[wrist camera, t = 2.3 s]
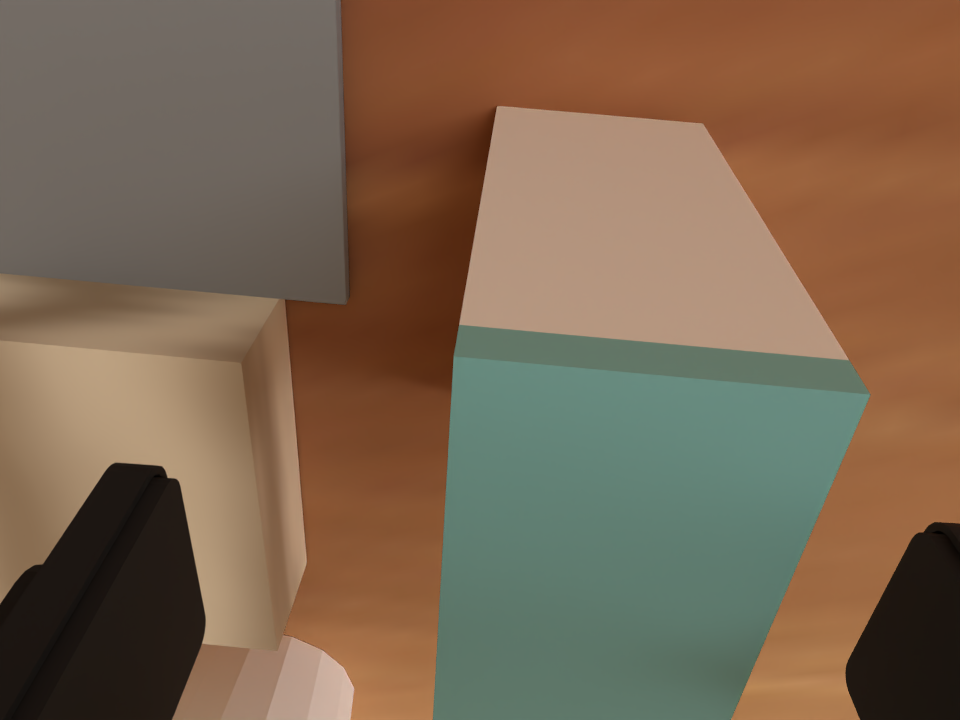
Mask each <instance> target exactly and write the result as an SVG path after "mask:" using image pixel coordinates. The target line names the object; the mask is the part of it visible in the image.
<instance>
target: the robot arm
mask: <svg viewBox="0 0 960 720" xmlns="http://www.w3.org/2000/svg"><path fill="white" fill-rule="evenodd" d="M205 627H206V616H205V610H204V605H203V600H202V595H201V590H200V584H199V579H198V574H197V569H196V564H195V559H194V553H193V548H192V543H191V538H190V533H189V528H188V522H187V517H186V512H185V507H184V502H183V497H182V491H181V486H180V483H179V481H178V480H177V479H175V478H168V477H167V474H166V471H165V469H164V468H163V467H162V466H157V465H144V464H130V463H116V462H115V463H113V464H111V465H110V466H109V467H108V468H107V469H106V471H105V472H104V474H103V475H102V477H101V478H100V480H99V481H98V483H97V484H96V486H95V487H94V489H93V490H92V491H91V493H90V494H89V496H88V497H87V499H86V500H85V502H84V503H83V505H82V506H81V508H80V509H79V511H78V512H77V514H76V515H75V517H74V518H73V520H72V521H71V523H70V524H69V526H68V527H67V529H66V530H65V532H64V533H63V535H62V536H61V538H60V539H59V541H58V542H57V544H56V545H55V547H54V548H53V550H52V551H51V553H50V554H49V556H48V557H47V559H46V560H45V562H44V563H43V564H39V565H34V566H32V567H31V568H29V569H27V570H26V571H24V573H23V574H22V575H21V576H20V577H19V578H18V580H17V581H16V582H15V583H14V585H13V586H12V588H11V589H10V590H9V592H8V593H7V595H6V596H5V598H4V599H3V601H2V602H1V603H0V720H172V719H173V716H174V714H175V711H176V709H177V706H178V704H179V701H180V699H181V696H182V693H183V691H184V688H185V686H186V683H187V681H188V678H189V676H190V673H191V671H192V668H193V666H194V663H195V661H196V658H197V656H198V653H199V651H200V648H201V645H202V642H203V638H204V634H205ZM846 683H847V688H848V691H849V694H850V696H851V699H852V701H853V703H854V706H855V708H856V711H857V713H858V716H859V718H860V720H960V524H956V523H942V522H934V523H932V524H931V525H929V526H928V527H927V528H926V530H925V531H924V533H918V534H916V535H915V536H914V537H913V538H912V540H911V542H910V543H909V545H908V547H907V549H906V551H905V553H904V555H903V557H902V559H901V561H900V562H899V564H898V566H897V568H896V570H895V572H894V574H893V576H892V578H891V580H890V582H889V583H888V585H887V587H886V589H885V591H884V593H883V595H882V597H881V599H880V601H879V603H878V604H877V606H876V608H875V610H874V612H873V614H872V616H871V618H870V620H869V622H868V624H867V625H866V627H865V629H864V631H863V633H862V635H861V637H860V639H859V641H858V643H857V645H856V646H855V648H854V650H853V652H852V654H851V656H850V658H849V660H848V662H847V665H846Z"/></svg>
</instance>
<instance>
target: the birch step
mask: <svg viewBox="0 0 960 720" xmlns="http://www.w3.org/2000/svg"><path fill="white" fill-rule="evenodd" d="M115 462H116V463H130V464H144V465H157V466H162V467H163V468H164V469H165V471H166V474H167V477H168V478H175V479H177V480H178V481H179V483H180V486H181V491H182V497H183V502H184V507H185V512H186V517H187V522H188V528H189V533H190V538H191V543H192V548H193V553H194V559H195V564H196V569H197V574H198V579H199V584H200V590H201V595H202V600H203V605H204V610H205V616H206V627H205V634H204V638H203V642H202V644H209V645H220V646H230V647H240V648H250V649H260V650H270V651H278V648H279V645H280V642H281V639H282V636H283V633H284V630H285V627H286V624H287V621H288V618H289V615H290V612H291V609H292V606H293V603H294V600H295V597H296V594H297V591H298V588H299V585H300V582H301V579H302V576H303V573H304V570H305V567H306V564H307V557H306V545H305V533H304V521H303V509H302V497H301V485H300V473H299V461H298V449H297V437H296V425H295V413H294V401H293V390H292V378H291V366H290V354H289V342H288V330H287V318H286V306H285V299H275V298H264V297H253V296H243V295H232V294H221V293H210V292H199V291H188V290H177V289H166V288H155V287H144V286H133V285H122V284H111V283H100V282H89V281H78V280H67V279H56V278H45V277H34V276H23V275H12V274H1V273H0V603H1V602H2V601H3V599H4V598H5V596H6V595H7V593H8V592H9V590H10V589H11V588H12V586H13V585H14V583H15V582H16V581H17V580H18V578H19V577H20V576H21V575H22V574H23V573H24V571H26V570H27V569H29V568H31V567H32V566H34V565H39V564H43V563H44V562H45V560H46V559H47V557H48V556H49V554H50V553H51V551H52V550H53V548H54V547H55V545H56V544H57V542H58V541H59V539H60V538H61V536H62V535H63V533H64V532H65V530H66V529H67V527H68V526H69V524H70V523H71V521H72V520H73V518H74V517H75V515H76V514H77V512H78V511H79V509H80V508H81V506H82V505H83V503H84V502H85V500H86V499H87V497H88V496H89V494H90V493H91V491H92V490H93V489H94V487H95V486H96V484H97V483H98V481H99V480H100V478H101V477H102V475H103V474H104V472H105V471H106V469H107V468H108V467H109V466H110V465H111V464H113V463H115Z"/></svg>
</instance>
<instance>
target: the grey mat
mask: <svg viewBox="0 0 960 720" xmlns="http://www.w3.org/2000/svg"><path fill="white" fill-rule="evenodd" d="M0 273H1V274H12V275H23V276H34V277H45V278H56V279H67V280H78V281H89V282H100V283H111V284H122V285H133V286H144V287H155V288H166V289H177V290H188V291H199V292H210V293H221V294H232V295H243V296H253V297H264V298H275V299H286V300H297V301H308V302H319V303H330V304H341V305H346V304H347V301H348V299H349V297H350V291H349V258H348V225H347V193H346V160H345V127H344V95H343V62H342V29H341V0H0Z"/></svg>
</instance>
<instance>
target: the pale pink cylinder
mask: <svg viewBox="0 0 960 720" xmlns="http://www.w3.org/2000/svg"><path fill="white" fill-rule="evenodd" d="M353 694H354V687H353V685H352V683H351V681H350V679H349V677H348V675H347V673H346V671H345V669H344V668H343V667H342V666H341V665H340V664H338V663H337V662H336V661H335V660H334V659H333V658H331V657H330V656H329V655H328V654H327V653H325V652H324V651H323V650H321V649H319V648H317V647H314V646H312V645H310V644H308V643H305V642H303V641H301V640H298V639H296V638H294V637H291V636H285V635H283V636H282V639H281V642H280V645H279V648H278V651H270V650H260V649H250V648H240V647H230V646H220V645H209V644H202V645H201V648H200V651H199V653H198V656H197V658H196V661H195V663H194V666H193V668H192V671H191V673H190V676H189V678H188V681H187V683H186V686H185V688H184V691H183V693H182V696H181V699H180V701H179V704H178V706H177V709H176V711H175V714H174V716H173V719H172V720H350V719H351V711H352V703H353Z"/></svg>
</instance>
